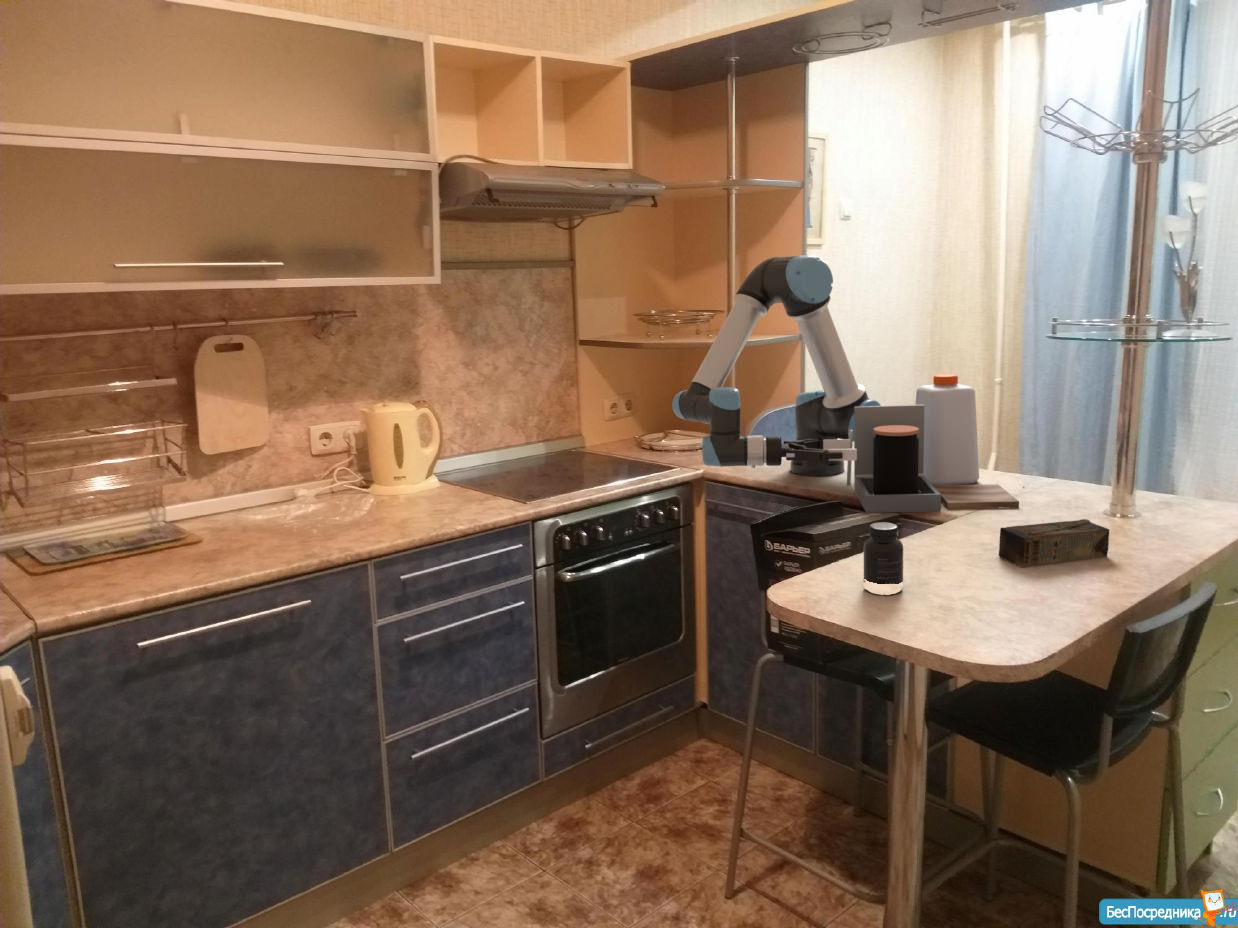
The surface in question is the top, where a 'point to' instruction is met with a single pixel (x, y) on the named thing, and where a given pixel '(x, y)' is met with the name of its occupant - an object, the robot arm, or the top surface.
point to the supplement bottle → (883, 554)
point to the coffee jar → (895, 460)
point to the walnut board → (976, 496)
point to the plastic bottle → (949, 431)
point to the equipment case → (863, 466)
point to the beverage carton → (1053, 543)
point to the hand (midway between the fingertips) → (853, 449)
